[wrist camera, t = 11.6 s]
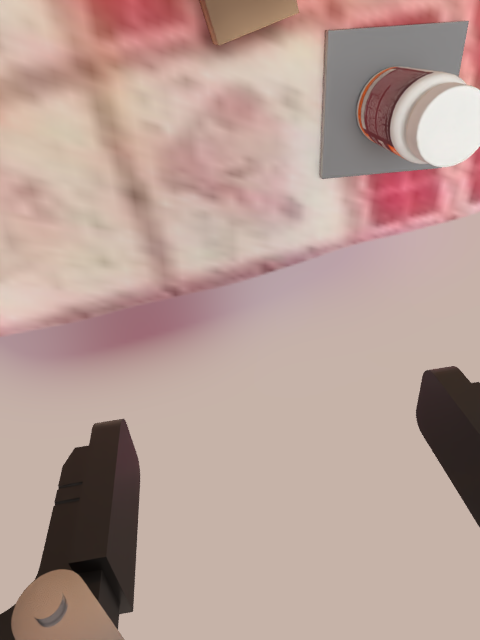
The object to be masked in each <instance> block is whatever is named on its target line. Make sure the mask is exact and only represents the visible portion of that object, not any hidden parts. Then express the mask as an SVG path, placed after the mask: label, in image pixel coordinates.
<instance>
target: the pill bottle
mask: <svg viewBox="0 0 480 640" xmlns="http://www.w3.org/2000/svg"><path fill="white" fill-rule="evenodd" d="M356 114H357V121H358V125H359V127H360V129H361V131H362V133H363V134H364V135H365V136H366V137H367V138H368V139H369V140H371V141H373V142H374V143H376V144H378V145H379V146H381V147H383V148H385V149H387V150H389V151H391V152H392V153H394V154H396V155H398V156H400V157H402V158H404V159H405V160H408V161H410V162H412V163H417V164H430V165H433V166H436V167H450V166H454V165H457V164H459V163H461V162H463V161H464V160H466V159H467V158H469V157H470V156H471V155H472V154H473V153H474V152H475V151H476V150H477V149H478V148H479V146H480V90H479V89H477V88H475V87H473V86H470V85H467V84H466V83H465V82H464V81H463V80H462V79H461V78H460V77H458V76H456V75H454V74H450V73H446V72H439V71H432V70H424V69H416V68H410V67H403V66H394V67H389V68H386V69H384V70H382V71H380V72H379V73H377V74H376V75H374V76H373V77H372V78H371V79H370V80H369V81H368V83H367V84H366V85H365V87H364V88H363V90H362V92H361V94H360V97H359V101H358V104H357V112H356Z"/></svg>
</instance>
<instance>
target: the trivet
mask: <svg viewBox="0 0 480 640" xmlns="http://www.w3.org/2000/svg"><path fill="white" fill-rule="evenodd" d="M468 22H469V21H458V22H443V23H429V24H414V25H400V26H385V27H371V28H356V29H342V30H327V31H326V32H325V58H324V83H323V108H322V134H321V159H320V177H321V178H322V179H326V178H337V177H348V176H359V175H369V174H380V173H391V172H401V171H412V170H423V169H434V168H442V167H436V166H433V165H430V164H417V163H412V162H410V161H408V160H405V159H404V158H402V157H400V156H398V155H396V154H394V153H392V152H391V151H389V150H387V149H385V148H383V147H381V146H379V145H378V144H376V143H374V142H373V141H371V140H369V139H368V138H367V137H366V136H365V135H364V134H363V133H362V131H361V129H360V127H359V125H358V121H357V114H356V112H357V104H358V101H359V97H360V94H361V92H362V90H363V88H364V87H365V85H366V84H367V83H368V81H369V80H370V79H371V78H372V77H373V76H374V75H376V74H377V73H379V72H380V71H382V70H384V69H386V68H389V67H394V66H403V67H410V68H416V69H424V70H432V71H439V72H446V73H450V74H454V75H456V76H458V77H459V71H460V66H461V60H462V55H463V50H464V44H465V39H466V33H467V28H468Z"/></svg>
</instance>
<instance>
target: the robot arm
mask: <svg viewBox="0 0 480 640" xmlns="http://www.w3.org/2000/svg"><path fill="white" fill-rule="evenodd" d="M416 418H417V423H418V426H419V429H420V431H421V433H422V435H423V436H424V438H425V439H426V441H427V443H428V444H429V446H430V447H431V449H432V451H433V453H434V454H435V456H436V457H437V459H438V461H439V462H440V464H441V465H442V467H443V469H444V470H445V472H446V473H447V475H448V477H449V478H450V480H451V482H452V483H453V485H454V487H455V488H456V490H457V491H458V493H459V494H460V496H461V498H462V499H463V501H464V503H465V504H466V506H467V508H468V509H469V511H470V512H471V514H472V516H473V517H474V519H475V520H476V522H477V524H478V525H479V527H480V383H479V382H476V383H470V381H469V380H468V379H467V378H466V377H465V376H464V374H463V373H462V372H461V371H460V370H459V369H458V368H457V367H455V366H451V367H445V368H439V369H433V370H427V371H425V372H424V374H423V377H422V382H421V388H420V393H419V398H418V403H417V409H416ZM58 486H59V490H57V494H56V498H55V506H54V507H53V512H52V516H51V520H50V525H49V529H48V533H47V538H46V542H45V546H44V551H43V555H42V560H41V564H40V568H39V571H38V574H37V576H36V578H35V580H34V581H33V582H32V583H31V584H30V585H29V586H28V587H27V588H26V589H25V590H24V592H23V593H22V594H21V596H20V597H19V599H18V601H17V603H16V604H15V605H14V606H12V607H11V608H10V609H8V610H7V611H5V612H4V613H2V614H0V640H124V638H123V637H122V635H121V634H120V633H119V631H118V620H119V614H122V613H128V612H133V601H134V582H135V564H136V547H137V527H138V509H139V491H140V468H139V461H138V457H137V454H136V451H135V448H134V445H133V442H132V439H131V436H130V433H129V430H128V427H127V424H126V422H125V420H124V419H119V420H113V421H107V422H101V423H95V424H94V425H93V428H92V433H91V439H90V444H89V446H83V447H77V448H75V449H74V450H73V452H72V453H71V455H70V456H69V458H68V459H67V461H66V462H65V464H64V465H63V468H62V472H61V477H60V481H59V485H58Z"/></svg>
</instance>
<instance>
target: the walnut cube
mask: <svg viewBox="0 0 480 640" xmlns="http://www.w3.org/2000/svg"><path fill="white" fill-rule="evenodd" d="M199 1H200V4H201V7H202V11H203V14H204V17H205V20H206V23H207V26H208V29H209V32H210V36H211V39H212V42H213V44H216V45H222V44H224V43H227V42H229V41H232V40H234V39H237V38H239V37H241V36H244V35H246V34H249V33H251V32H254V31H256V30H259V29H261V28H263V27H266V26H268V25H271V24H273V23H276V22H278V21H280V20H283V19H285V18H288V17H290V16H293V15H295V14H298V13H299V10H298V6H297V1H296V0H199Z"/></svg>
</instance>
